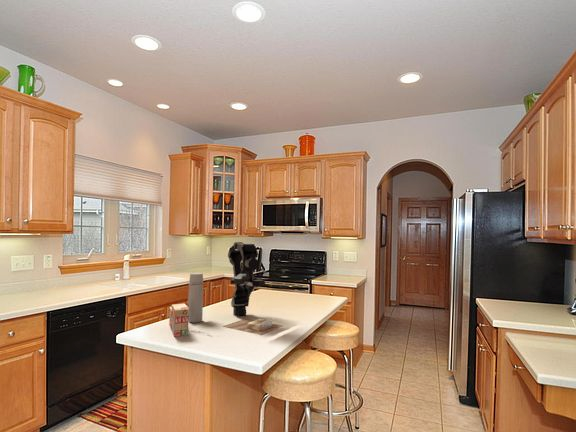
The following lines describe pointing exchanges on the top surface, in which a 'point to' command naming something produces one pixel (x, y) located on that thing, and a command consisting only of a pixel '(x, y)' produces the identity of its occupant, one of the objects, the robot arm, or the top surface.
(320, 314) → the top surface
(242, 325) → the bench board
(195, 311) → the water bottle
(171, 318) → the stack of blocks
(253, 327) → the birch plate
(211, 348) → the top surface
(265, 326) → the bench dog
